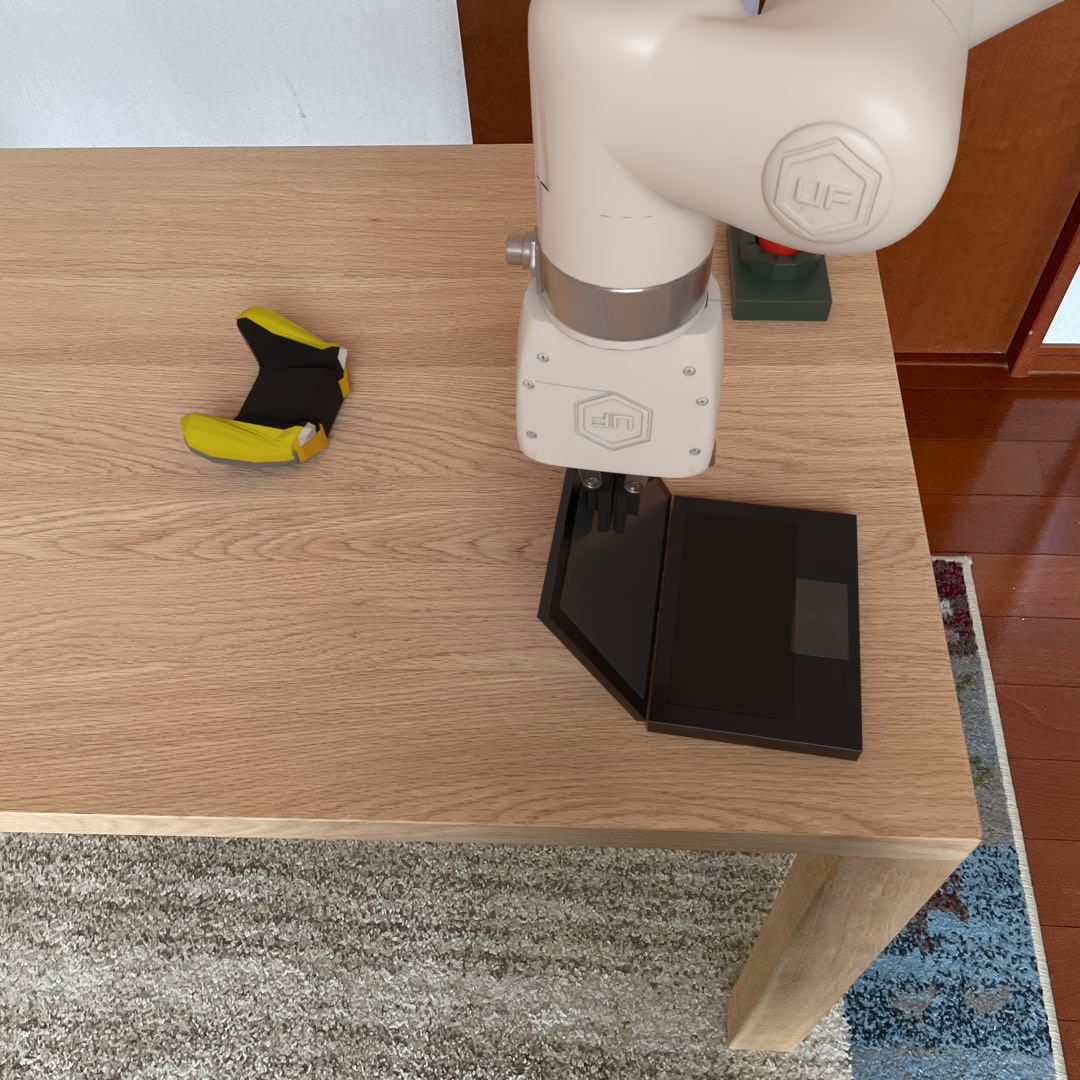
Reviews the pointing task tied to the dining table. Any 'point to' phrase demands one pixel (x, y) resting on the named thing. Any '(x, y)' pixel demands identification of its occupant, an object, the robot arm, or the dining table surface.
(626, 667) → the screen
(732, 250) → the green base block
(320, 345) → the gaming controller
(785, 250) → the power button
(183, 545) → the dining table surface
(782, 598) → the laptop
